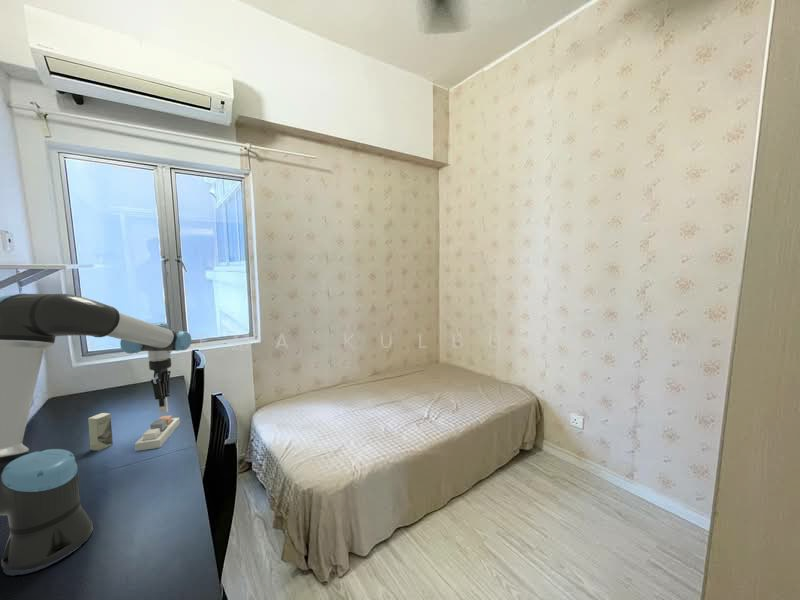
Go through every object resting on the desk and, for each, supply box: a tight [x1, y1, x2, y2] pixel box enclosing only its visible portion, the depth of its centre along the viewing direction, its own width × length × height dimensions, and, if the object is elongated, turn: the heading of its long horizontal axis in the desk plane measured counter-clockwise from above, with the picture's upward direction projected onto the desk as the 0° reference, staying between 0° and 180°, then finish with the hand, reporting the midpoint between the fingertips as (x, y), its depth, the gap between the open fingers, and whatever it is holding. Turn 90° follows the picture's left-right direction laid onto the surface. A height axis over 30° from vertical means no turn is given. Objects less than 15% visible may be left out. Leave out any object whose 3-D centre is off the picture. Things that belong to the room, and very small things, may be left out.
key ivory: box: [142, 428, 160, 441], centre depth 126 cm, size 4×4×3 cm
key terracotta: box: [157, 415, 173, 425], centre depth 137 cm, size 4×4×3 cm
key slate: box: [150, 419, 167, 431], centre depth 131 cm, size 4×4×3 cm
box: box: [87, 412, 114, 452], centre depth 123 cm, size 5×4×13 cm
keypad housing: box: [134, 417, 181, 452], centre depth 132 cm, size 20×8×3 cm, turn 16°
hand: (163, 412), depth 137 cm, fingers closed
